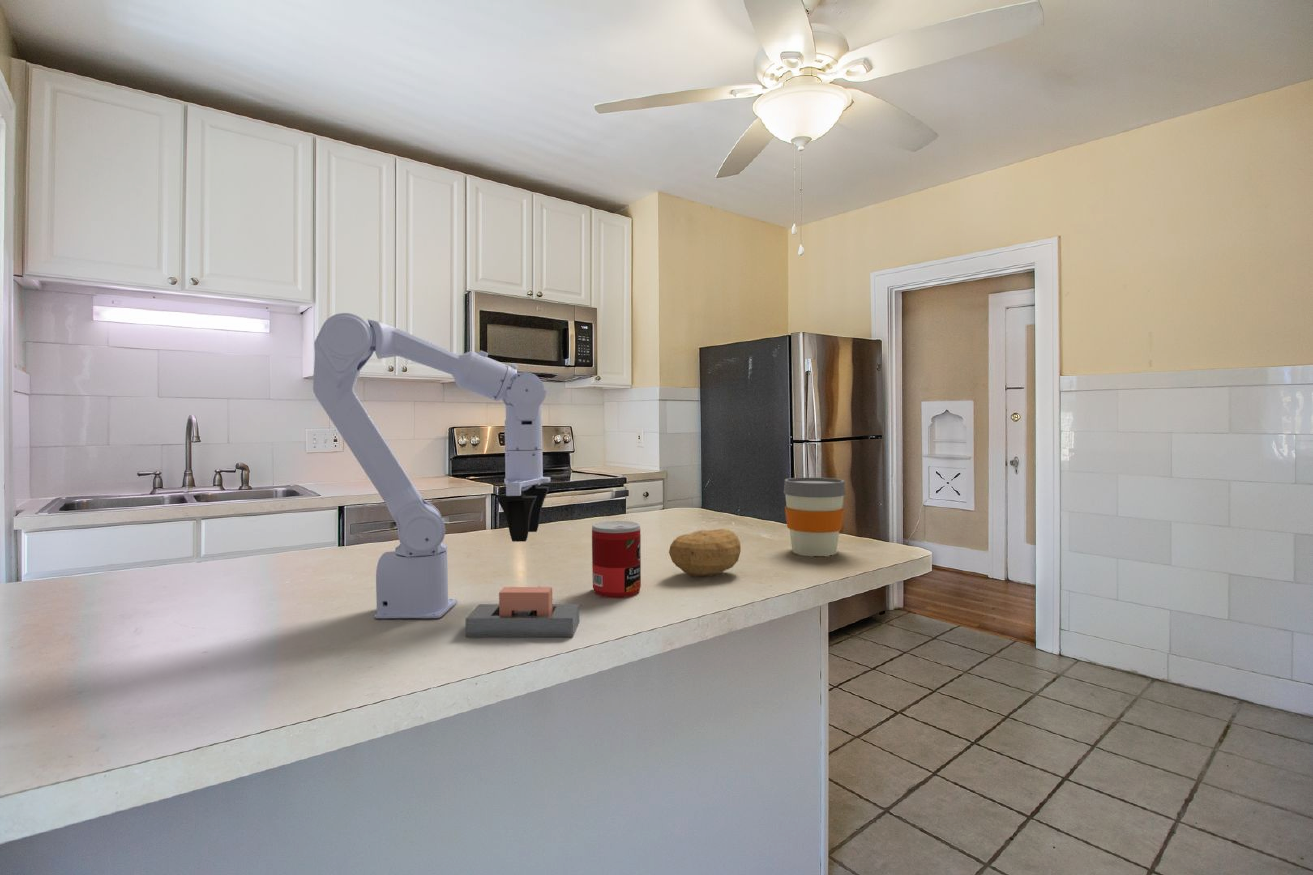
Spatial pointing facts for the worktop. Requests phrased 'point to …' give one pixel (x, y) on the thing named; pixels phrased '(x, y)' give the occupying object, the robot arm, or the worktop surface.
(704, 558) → the potato
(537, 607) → the clip
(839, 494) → the reusable coffee cup
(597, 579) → the canned food
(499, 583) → the worktop surface
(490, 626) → the grey slotted block
